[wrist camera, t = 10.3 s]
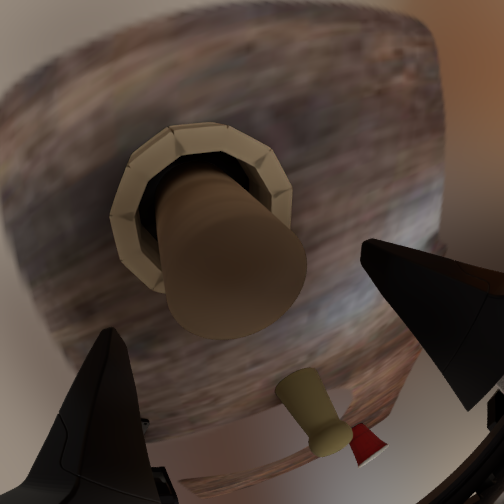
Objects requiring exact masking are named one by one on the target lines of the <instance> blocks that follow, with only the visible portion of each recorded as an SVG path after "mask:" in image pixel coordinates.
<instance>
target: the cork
mask: <svg viewBox="0 0 504 504" xmlns="http://www.w3.org/2000/svg"><path fill="white" fill-rule="evenodd" d="M275 393H276V395H277V396H278V397H279V399H280V400H281V401H282V403H283V404H284V405H285V407H286V408H287V409H288V411H289V412H290V413H291V415H292V416H293V417H294V419H295V420H296V421H297V423H298V424H299V425H300V426H301V428H302V429H303V430H304V432H305V433H306V434H307V435H308V437H309V441H308V443H309V447H310V449H311V451H312V453H313V454H315V455H316V456H318V457H325V456H328V455H331V454H334V453H336V452H338V451H340V450H341V449H342V448H344V447H345V446H346V445H347V444H348V443H350V442H351V440H352V438H353V432H352V429H351V427H350V426H349V425H348V424H347V423H346V422H344V421H341V420H339V418H338V415H337V413H336V411H335V409H334V407H333V405H332V402H331V400H330V398H329V396H328V394H327V392H326V389H325V387H324V385H323V383H322V381H321V379H320V377H319V374H318V372H317V370H316V369H314V368H304V369H301V370H298V371H296V372H294V373H292V374H290V375H289V376H287V377H286V378H284V379H283V380H282V381H281V382H280V383H279V384H278V385H277V387H276V389H275Z"/></svg>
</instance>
